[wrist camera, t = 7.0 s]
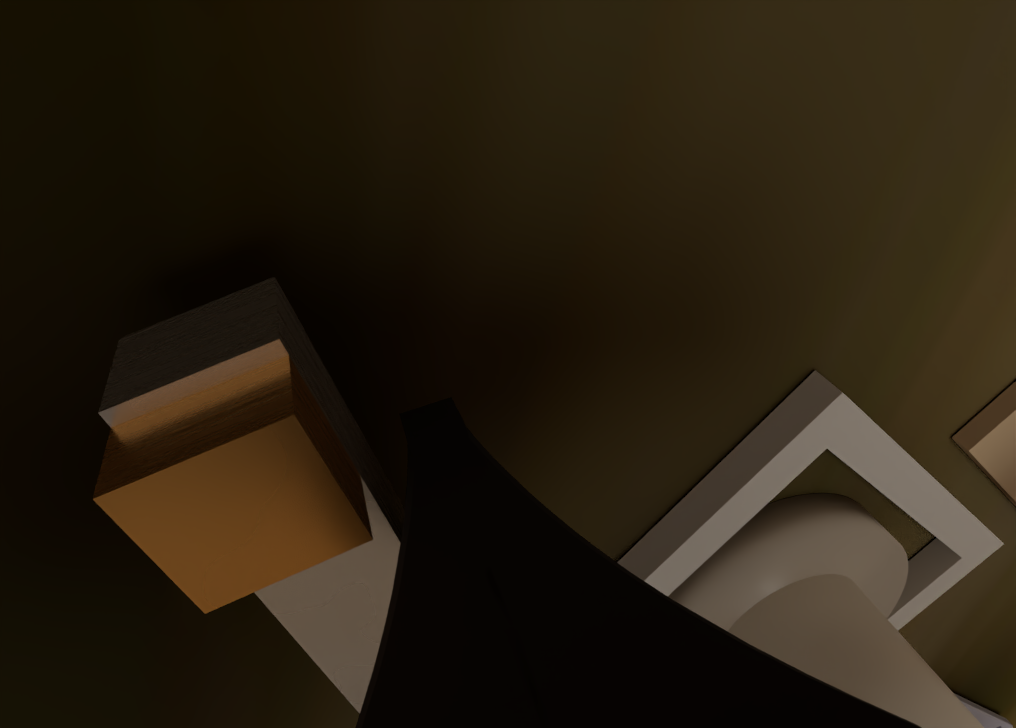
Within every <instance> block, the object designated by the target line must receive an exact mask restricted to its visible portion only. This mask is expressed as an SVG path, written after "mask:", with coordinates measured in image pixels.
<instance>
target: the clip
mask: <svg viewBox="0 0 1016 728" xmlns="http://www.w3.org/2000/svg"><path fill="white" fill-rule="evenodd" d="M98 413H99V414H100V416H101V417H102V418H103V419H104V420H105V421H106V423H107V424H108V425H109V426H110V427H111V430H110V434H109V438H108V441H107V445H106V449H105V453H104V457H103V461H102V465H101V469H100V473H99V477H98V480H97V484H96V488H95V492H94V496H93V500H94V501H95V502H96V503H97V504H98V505H99V506H100V507H101V508H102V509H103V510H104V511H105V512H106V513H107V514H108V515H109V516H110V517H111V518H112V519H113V520H114V521H115V522H116V524H117V525H118V526H119V527H120V528H121V529H122V530H123V531H124V532H125V533H126V534H127V535H128V536H129V537H130V538H131V539H132V540H133V541H134V542H135V543H136V544H137V545H138V546H139V547H140V548H141V549H142V550H143V551H144V552H145V553H146V554H147V555H148V556H149V557H150V558H151V559H152V560H153V561H154V562H155V563H156V564H157V565H158V566H159V567H160V568H161V569H162V570H163V571H164V573H165V574H166V575H167V576H168V577H169V578H170V579H171V580H172V581H173V582H174V583H175V584H176V585H177V586H178V587H179V588H180V589H181V590H182V591H183V592H184V593H185V594H186V595H187V596H188V597H189V598H190V599H191V600H192V601H193V602H194V603H195V604H196V605H197V606H198V607H199V608H200V609H201V610H202V611H203V612H204V613H205V614H206V613H208V612H210V611H212V610H215V609H217V608H219V607H222V606H224V605H226V604H228V603H231V602H233V601H235V600H237V599H240V598H242V597H244V596H247V595H249V594H251V593H253V592H254V593H255V594H256V595H257V596H258V597H259V598H260V600H261V601H262V602H263V603H264V604H265V605H266V606H267V608H268V609H269V610H270V611H271V612H272V613H273V615H274V616H275V617H276V618H277V619H278V620H279V621H280V623H281V624H282V625H283V626H284V627H285V628H286V629H287V631H288V632H289V633H290V634H291V635H292V636H293V638H294V639H295V640H296V641H297V642H298V643H299V644H300V646H301V647H302V648H303V649H304V650H305V651H306V652H307V654H308V655H309V656H310V657H311V658H312V659H313V661H314V662H315V663H316V664H317V665H318V666H319V667H320V669H321V670H322V671H323V672H324V673H325V674H326V675H327V677H328V678H329V679H330V680H331V681H332V682H333V684H334V685H335V686H336V687H337V688H338V689H339V690H340V692H341V693H342V694H343V695H344V696H345V697H346V698H347V700H348V701H349V702H350V703H351V704H352V705H353V707H354V708H355V709H356V710H357V711H358V712H359V713H360V712H361V708H362V705H363V702H364V698H365V695H366V692H367V688H368V685H369V682H370V679H371V675H372V672H373V668H374V665H375V661H376V657H377V653H378V650H379V646H380V642H381V638H382V634H383V630H384V626H385V622H386V617H387V613H388V608H389V604H390V599H391V594H392V590H393V584H394V578H395V573H396V567H397V561H398V555H399V549H400V543H401V537H402V530H403V521H404V511H405V509H404V507H403V505H402V503H401V501H400V500H399V498H398V496H397V494H396V492H395V491H394V489H393V487H392V485H391V484H390V482H389V480H388V478H387V476H386V475H385V473H384V471H383V469H382V468H381V466H380V464H379V462H378V460H377V459H376V457H375V455H374V453H373V451H372V450H371V448H370V446H369V444H368V443H367V441H366V439H365V437H364V435H363V434H362V432H361V430H360V428H359V426H358V425H357V423H356V421H355V419H354V418H353V416H352V414H351V412H350V410H349V409H348V407H347V405H346V403H345V402H344V400H343V398H342V396H341V394H340V393H339V391H338V389H337V387H336V385H335V384H334V382H333V380H332V378H331V377H330V375H329V373H328V371H327V369H326V368H325V366H324V364H323V362H322V360H321V359H320V357H319V355H318V353H317V352H316V350H315V348H314V346H313V344H312V343H311V341H310V339H309V337H308V335H307V334H306V332H305V330H304V328H303V327H302V325H301V323H300V321H299V319H298V318H297V316H296V314H295V312H294V311H293V309H292V307H291V305H290V303H289V302H288V300H287V298H286V296H285V294H284V293H283V291H282V289H281V287H280V286H279V284H278V282H277V280H276V278H275V277H272V278H270V279H267V280H265V281H262V282H260V283H257V284H255V285H252V286H250V287H247V288H245V289H242V290H240V291H237V292H235V293H232V294H230V295H227V296H225V297H222V298H220V299H217V300H215V301H212V302H210V303H207V304H205V305H202V306H200V307H197V308H195V309H192V310H190V311H187V312H185V313H182V314H180V315H177V316H175V317H172V318H170V319H167V320H165V321H162V322H160V323H157V324H154V325H152V326H149V327H147V328H144V329H142V330H139V331H137V332H134V333H132V334H129V335H127V336H124V337H122V338H120V339H119V342H118V346H117V349H116V353H115V356H114V360H113V363H112V367H111V370H110V373H109V377H108V380H107V384H106V387H105V391H104V394H103V398H102V401H101V405H100V408H99V411H98Z"/></svg>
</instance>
